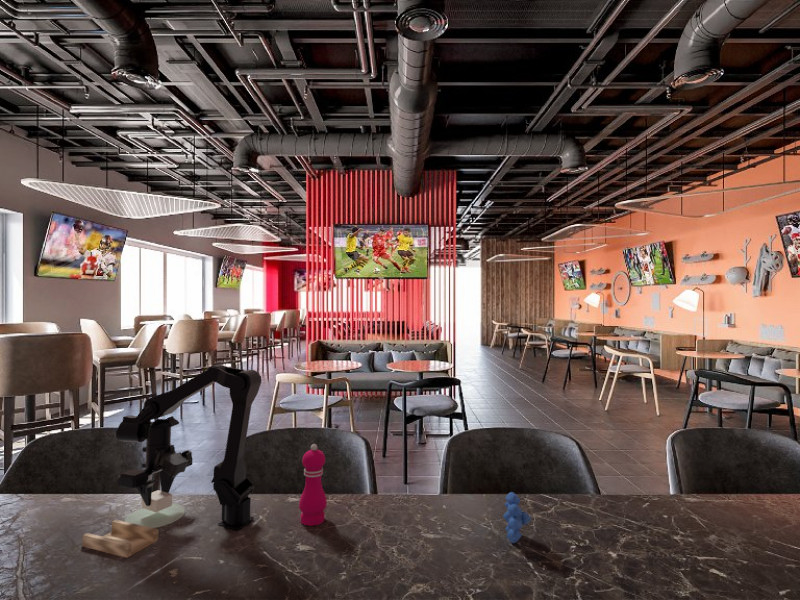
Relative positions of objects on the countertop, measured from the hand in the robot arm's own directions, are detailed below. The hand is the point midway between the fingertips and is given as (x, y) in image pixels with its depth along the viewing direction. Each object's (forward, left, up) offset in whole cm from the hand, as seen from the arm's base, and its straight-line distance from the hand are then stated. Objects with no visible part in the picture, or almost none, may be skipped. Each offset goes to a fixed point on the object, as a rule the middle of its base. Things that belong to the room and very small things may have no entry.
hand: (156, 501), depth 114 cm
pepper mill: (-40, -13, -4) cm, 42 cm away
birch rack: (-4, +13, -4) cm, 14 cm away
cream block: (0, 0, -1) cm, 1 cm away
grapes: (-92, -20, -4) cm, 94 cm away
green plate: (0, 0, -4) cm, 4 cm away
